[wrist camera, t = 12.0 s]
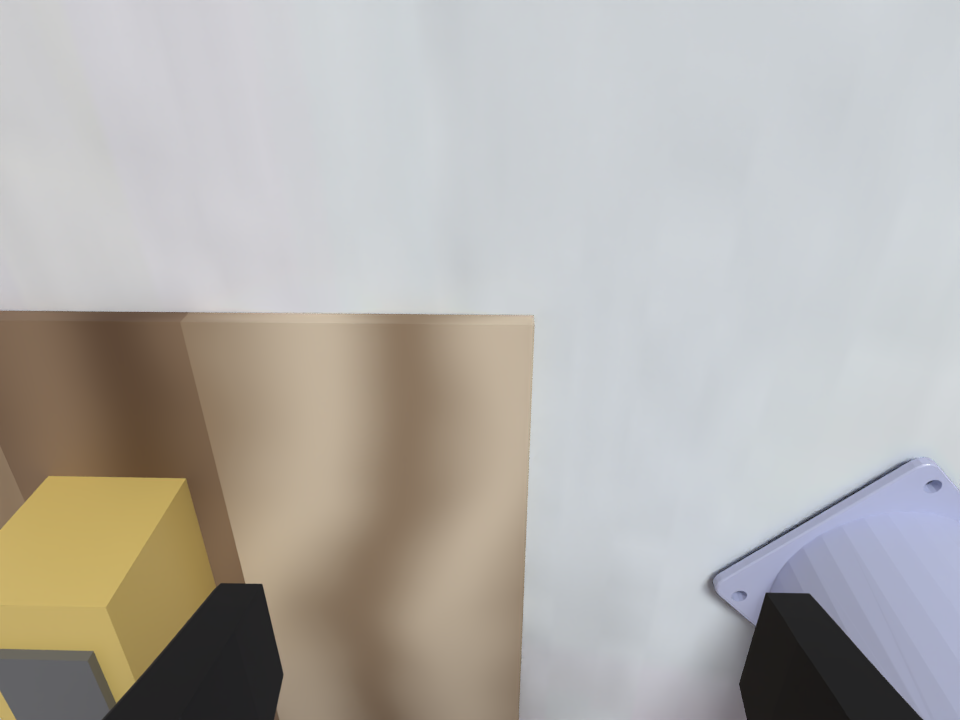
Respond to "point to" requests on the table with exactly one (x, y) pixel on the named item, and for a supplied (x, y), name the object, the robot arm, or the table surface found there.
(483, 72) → the table surface
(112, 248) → the table surface
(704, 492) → the table surface
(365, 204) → the table surface
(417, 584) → the subfloor board
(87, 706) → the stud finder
